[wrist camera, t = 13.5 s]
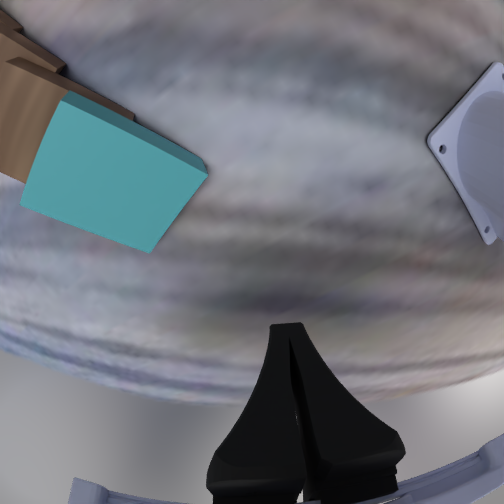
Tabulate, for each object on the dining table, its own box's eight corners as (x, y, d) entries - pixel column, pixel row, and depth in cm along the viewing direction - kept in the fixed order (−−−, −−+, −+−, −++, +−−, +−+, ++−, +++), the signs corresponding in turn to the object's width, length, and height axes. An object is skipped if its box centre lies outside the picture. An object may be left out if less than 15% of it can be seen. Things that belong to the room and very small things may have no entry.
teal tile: (208, 175, 13) (60, 100, 8) (149, 253, 14) (19, 204, 10) (201, 158, 14) (69, 90, 9) (147, 232, 16) (28, 185, 11)
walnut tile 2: (132, 123, 11) (4, 61, 7) (83, 209, 13) (-28, 158, 9) (134, 113, 12) (19, 56, 8) (88, 193, 14) (-15, 145, 10)
